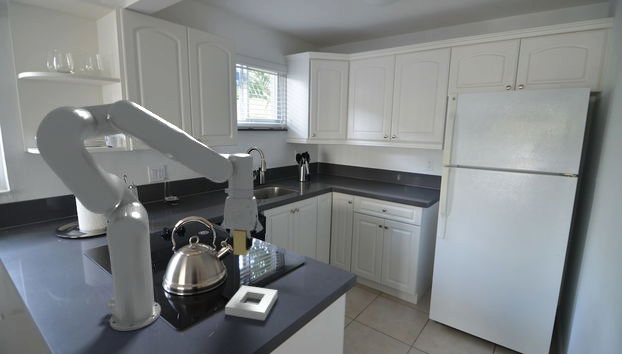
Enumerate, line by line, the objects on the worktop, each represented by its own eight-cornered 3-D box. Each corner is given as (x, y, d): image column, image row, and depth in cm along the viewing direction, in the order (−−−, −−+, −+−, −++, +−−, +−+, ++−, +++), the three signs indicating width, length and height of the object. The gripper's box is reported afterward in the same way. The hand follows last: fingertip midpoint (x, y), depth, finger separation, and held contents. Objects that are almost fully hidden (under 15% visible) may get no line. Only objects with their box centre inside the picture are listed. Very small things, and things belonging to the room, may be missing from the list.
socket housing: (225, 314, 89) (225, 306, 89) (242, 292, 101) (242, 285, 100) (264, 320, 87) (264, 312, 86) (277, 297, 98) (277, 290, 98)
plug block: (233, 254, 98) (233, 230, 97) (238, 249, 102) (238, 226, 101) (245, 255, 97) (245, 231, 96) (250, 250, 101) (249, 227, 100)
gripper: (210, 194, 94) (212, 250, 97) (262, 197, 91) (262, 255, 94) (221, 189, 101) (223, 241, 104) (270, 192, 98) (270, 245, 102)
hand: (242, 247), depth 99 cm, fingers closed on plug block, 4 cm apart
